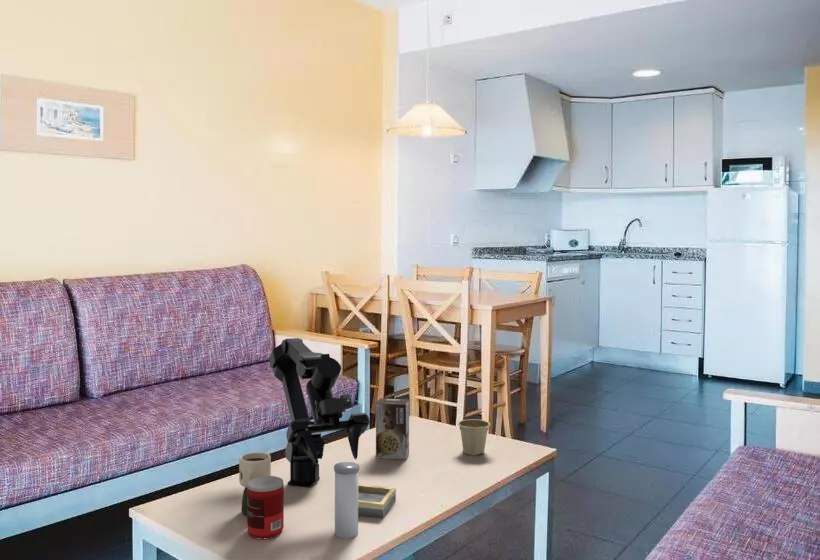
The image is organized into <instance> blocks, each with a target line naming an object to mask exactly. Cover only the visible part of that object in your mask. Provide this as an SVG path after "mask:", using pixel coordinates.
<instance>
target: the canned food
mask: <svg viewBox="0 0 820 560" xmlns="http://www.w3.org/2000/svg"><path fill="white" fill-rule="evenodd" d="M284 486H285V485H284V479H283V478H281V477H279V476H275V475H271V476H261V477H257V478H254V479H251V480H250V481H249V482H248V483H247V514H246V520H247V522H246V524H247V526H246V530H247V534H248V536H249V537H251V538H252V539H256V538H260V539H259V540H265V539H264V538H269V539H272V538H271V537H273V538H276V537H278V536H279V535H280V533H281V534H282V533H283V530H284V524H285V523H284V520H285V518H284V517H285V515H284V513H285V509H284V508H285V507H284V506H285V502H284V500H285V499H284V497H285V491H284V490H285V489H284ZM277 535H278V536H277ZM275 536H276V537H275Z"/></svg>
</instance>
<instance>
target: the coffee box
mask: <svg viewBox="0 0 820 560" xmlns="http://www.w3.org/2000/svg"><path fill="white" fill-rule="evenodd" d="M409 455H410V398H409V399H408V398H385V397H384V398H381V397H380V398H379V399H378V400H377V401H376V403H375V459H388V460H389V459H392V460H407V459H408V457H409Z"/></svg>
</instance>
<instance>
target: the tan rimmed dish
mask: <svg viewBox="0 0 820 560" xmlns="http://www.w3.org/2000/svg"><path fill="white" fill-rule="evenodd" d="M396 491H397V488H396V487H390V486H389V487H388V486H387V487H385V486H378V485H370V484H359V483H358V517H360V516H361V517H367V518H377V519H384V518H385V517H386V515H387V513H388V512H389V511H390V509H391V508H392V507H393V506H394V504H395V503H396V501H397V500H396V499H397V497H396V496H397V492H396Z"/></svg>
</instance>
